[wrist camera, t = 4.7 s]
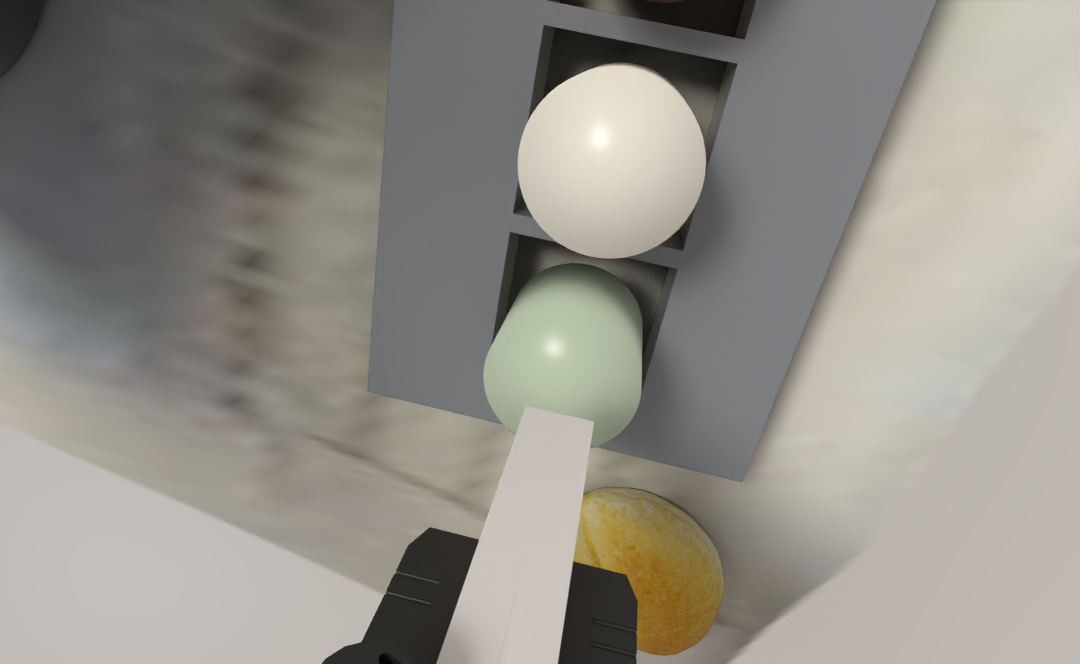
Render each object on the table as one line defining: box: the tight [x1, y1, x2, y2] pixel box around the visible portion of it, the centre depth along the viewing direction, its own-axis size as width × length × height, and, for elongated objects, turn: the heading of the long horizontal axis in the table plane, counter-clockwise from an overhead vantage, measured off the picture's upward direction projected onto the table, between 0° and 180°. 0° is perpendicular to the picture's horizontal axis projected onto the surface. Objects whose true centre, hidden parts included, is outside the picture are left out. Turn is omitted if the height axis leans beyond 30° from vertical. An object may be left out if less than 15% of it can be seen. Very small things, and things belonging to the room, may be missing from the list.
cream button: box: [518, 62, 706, 259], centre depth 17 cm, size 4×4×4 cm
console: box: [367, 0, 937, 482], centre depth 20 cm, size 14×21×2 cm, turn 170°
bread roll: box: [573, 487, 724, 656], centre depth 26 cm, size 8×9×4 cm
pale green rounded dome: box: [483, 263, 643, 448], centre depth 19 cm, size 4×4×4 cm
